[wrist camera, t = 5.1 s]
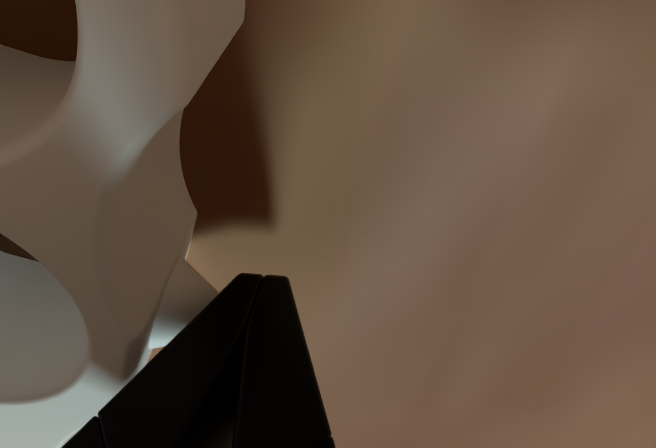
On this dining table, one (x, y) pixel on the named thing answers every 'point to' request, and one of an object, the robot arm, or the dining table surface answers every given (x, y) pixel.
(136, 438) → the robot arm
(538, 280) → the dining table surface
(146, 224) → the white spiky piece
